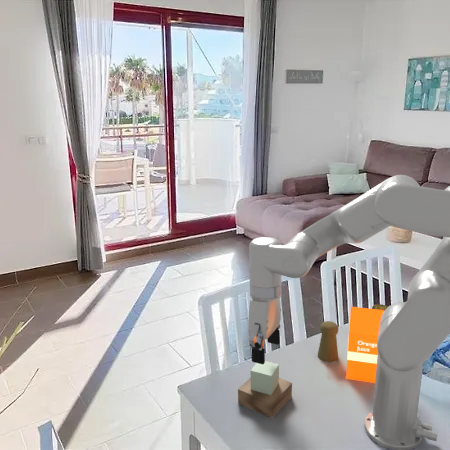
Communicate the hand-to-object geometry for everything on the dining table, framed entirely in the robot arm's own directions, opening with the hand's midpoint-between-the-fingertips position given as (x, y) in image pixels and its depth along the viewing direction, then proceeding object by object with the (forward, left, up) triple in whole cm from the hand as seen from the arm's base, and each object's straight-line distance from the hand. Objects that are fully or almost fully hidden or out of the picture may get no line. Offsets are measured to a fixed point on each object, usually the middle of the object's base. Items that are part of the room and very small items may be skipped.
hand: (266, 352), depth 114 cm
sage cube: (0, 0, -10) cm, 10 cm away
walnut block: (0, 0, -14) cm, 14 cm away
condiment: (-21, -43, -14) cm, 50 cm away
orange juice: (-20, -23, -14) cm, 33 cm away
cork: (-9, -27, -14) cm, 32 cm away
